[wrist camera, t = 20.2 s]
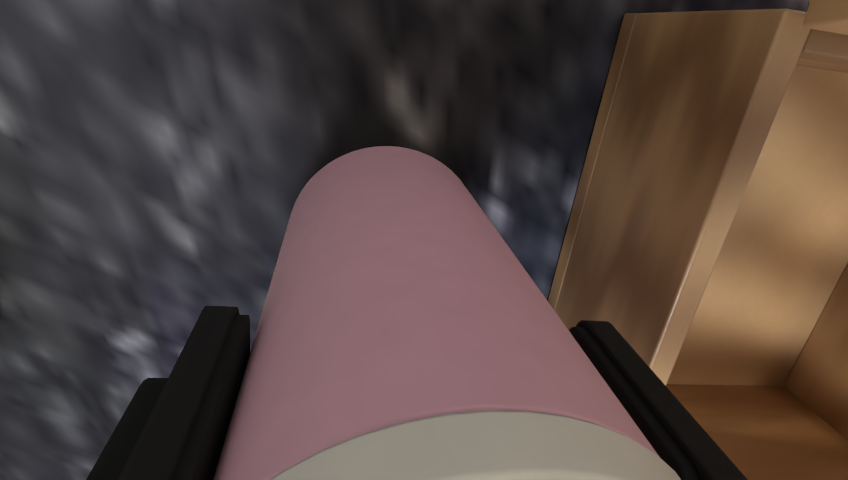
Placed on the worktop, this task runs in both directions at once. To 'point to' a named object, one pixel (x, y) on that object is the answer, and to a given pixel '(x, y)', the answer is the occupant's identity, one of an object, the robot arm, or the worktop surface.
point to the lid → (827, 16)
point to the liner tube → (416, 347)
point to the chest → (725, 229)
